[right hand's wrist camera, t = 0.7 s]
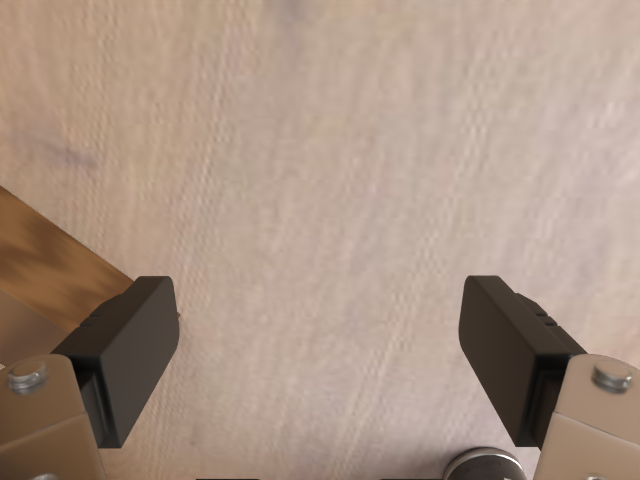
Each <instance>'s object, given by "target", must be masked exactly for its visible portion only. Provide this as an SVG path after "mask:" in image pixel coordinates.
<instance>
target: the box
mask: <svg viewBox="0 0 640 480" xmlns="http://www.w3.org/2000/svg"><path fill="white" fill-rule="evenodd" d="M133 282H134V281H133V280H132V279H130V278H129V277H127V276H126V275H125V274H123V273H122V272H120V271H119V270H118V269H116V268H115V267H113V266H112V265H111V264H109V263H108V262H106V261H105V260H104V259H102V258H101V257H99V256H98V255H97V254H95V253H94V252H92V251H91V250H90V249H88V248H87V247H85V246H84V245H83V244H81V243H80V242H78V241H77V240H76V239H74V238H73V237H71V236H70V235H69V234H67V233H66V232H64V231H63V230H62V229H60V228H59V227H57V226H56V225H55V224H53V223H52V222H50V221H49V220H48V219H46V218H45V217H43V216H42V215H41V214H39V213H38V212H36V211H35V210H34V209H32V208H31V207H29V206H28V205H27V204H25V203H24V202H22V201H21V200H20V199H18V198H17V197H15V196H14V195H13V194H11V193H10V192H8V191H7V190H6V189H4V188H3V187H1V186H0V363H1V364H2V365H4V366H6V367H7V366H9V365H11V364H13V363H15V362H18V361H20V360H23V359H26V358H29V357H33V356H37V355H44V354H50V353H51V352H52V351H53V350H54V349H55V348H56V347H57V346H58V345H59V344H60V343H61V342H62V341H63V340H64V339H65V338H66V337H67V336H68V335H69V334H70V333H71V332H72V331H73V330H74V329H75V328H76V327H79V326H80V323H82V322H83V321H84V320H85V319H86V318H87V317H89V315H90V314H91V313H92V312H93V311H94V310H95V309H96V308H97V307H98V306H99V305H100V304H101V303H103V302H105V301H107V300H109V299H110V298H112V297H114V296H116V295H118V294H123V293H124V291H125V290H126V289H127V288H128V287H129V286H130V285H131V284H132V283H133ZM177 315H178V318H179V316H180V314H179V313H178V312H177Z"/></svg>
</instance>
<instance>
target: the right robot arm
mask: <svg viewBox="0 0 640 480" xmlns="http://www.w3.org/2000/svg"><path fill="white" fill-rule="evenodd" d="M178 341H179V322H178V315H177V308H176V300H175V293H174V286H173V282H172V279H171V278H170V277H169V276H140V277H138V278H137V279H136V280H135V281H134V282H133V283H132V284H131V285H130V286H129V287H128V288H127V289H126V290H125V291H124V293H123V294H118V295H116V296H114V297H112V298H110V299H109V300H107V301H105V302H103V303H101V304H100V305H99V306H98V307H97V308H96V309H95V310H94V311H93V312H92V313H91V314H90V315H89V317H87V318H86V319H85V320H84V321H83V322H82V323H80V326H79V327H76V328H75V329H74V330H73V331H72V332H71V333H70V334H69V335H68V336H67V337H66V338H65V339H64V340H63V341H62V342H61V343H60V344H59V345H58V346H57V347H56V348H55V349H54V350H53V351H52V352H51V353H50V354H44V355H37V356H33V357H29V358H26V359H23V360H20V361H18V362H15V363H13V364H11V365H9V366H7V367H5V368H3V369H2V370H0V480H107V478H106V474H105V471H104V467H103V464H102V461H101V457H100V454H99V451H98V448H121V447H122V446H123V444H124V442H125V440H126V438H127V437H128V435H129V433H130V431H131V429H132V428H133V426H134V424H135V422H136V420H137V419H138V417H139V415H140V413H141V412H142V410H143V408H144V406H145V404H146V403H147V401H148V399H149V397H150V395H151V394H152V392H153V390H154V388H155V386H156V385H157V383H158V381H159V379H160V377H161V376H162V374H163V372H164V370H165V368H166V367H167V365H168V363H169V361H170V359H171V358H172V356H173V354H174V352H175V350H176V348H177V345H178ZM459 341H460V345H461V348H462V350H463V352H464V354H465V356H466V357H467V359H468V361H469V363H470V365H471V366H472V368H473V370H474V372H475V374H476V376H477V377H478V379H479V381H480V383H481V385H482V386H483V388H484V390H485V392H486V394H487V395H488V397H489V399H490V401H491V403H492V405H493V406H494V408H495V410H496V412H497V414H498V415H499V417H500V419H501V421H502V423H503V425H504V426H505V428H506V430H507V432H508V434H509V435H510V437H511V439H512V441H513V443H514V445H515V446H516V447H538V448H539V449H540V451H541V454H540V457H539V461H538V464H537V467H536V471H535V474H534V478H533V480H640V370H638V369H637V368H635V367H633V366H631V365H629V364H627V363H625V362H622V361H620V360H617V359H614V358H611V357H607V356H603V355H596V354H588V353H587V352H586V351H585V350H584V349H583V348H582V347H581V346H580V345H579V344H578V343H577V342H576V341H575V340H574V339H573V338H572V337H571V336H570V335H569V334H568V333H567V332H566V331H565V330H563V329H562V328H561V327H560V326H558V325H557V323H556V322H555V321H554V320H553V319H552V318H551V317H550V316H548V314H547V313H546V312H545V311H544V310H543V309H542V308H541V307H540V306H539V305H538V304H537V303H536V302H534V301H532V300H530V299H528V298H526V297H525V296H523V295H521V294H519V293H514V292H513V290H512V289H511V288H510V287H509V286H508V285H507V284H506V283H505V282H504V281H503V280H502V279H501V278H500V277H499V276H468V277H467V278H466V281H465V284H464V291H463V298H462V306H461V313H460V320H459ZM196 480H259V479H196ZM381 480H527V478H526V476H525V473H524V471H523V469H522V467H521V465H520V463H519V462H518V460H517V459H516V458H515V457H514V456H513V455H511V454H510V453H508V452H506V451H503V450H500V449H495V448H480V449H475V450H471V451H468V452H466V453H464V454H462V455H460V456H458V457H457V458H456V459H454V460H453V461H452V462H451V463H450V464H449V465H448V467H447V468H446V470H445V472H444V475H443V479H381Z"/></svg>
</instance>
